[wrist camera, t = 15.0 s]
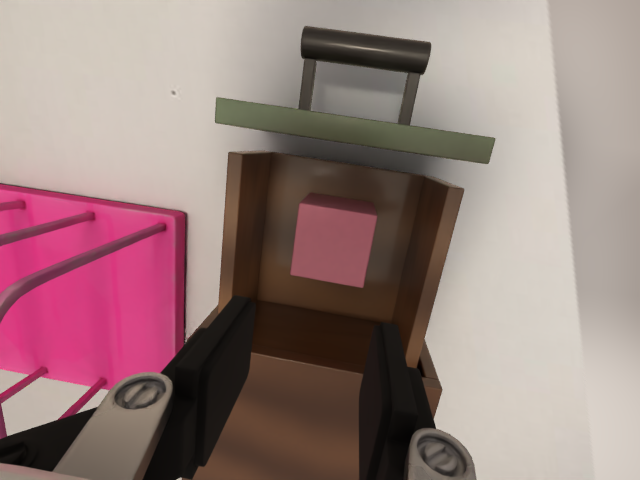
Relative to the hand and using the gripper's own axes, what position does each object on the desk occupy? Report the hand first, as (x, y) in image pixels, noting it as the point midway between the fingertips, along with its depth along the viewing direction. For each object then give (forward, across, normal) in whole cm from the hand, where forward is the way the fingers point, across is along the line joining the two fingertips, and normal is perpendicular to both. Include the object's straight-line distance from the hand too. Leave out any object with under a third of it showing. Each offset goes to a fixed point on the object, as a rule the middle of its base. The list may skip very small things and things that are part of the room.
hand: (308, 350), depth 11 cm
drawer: (+14, 0, -3) cm, 15 cm away
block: (+13, 0, -1) cm, 13 cm away
